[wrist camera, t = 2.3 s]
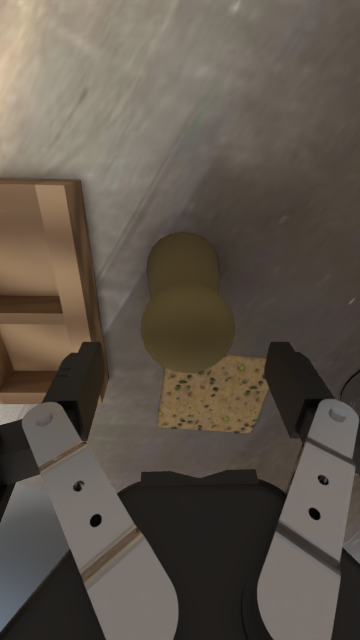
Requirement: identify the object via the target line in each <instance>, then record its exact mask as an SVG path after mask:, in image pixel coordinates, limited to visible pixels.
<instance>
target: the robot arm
mask: <svg viewBox="0 0 360 640" xmlns="http://www.w3.org/2000/svg"><path fill="white" fill-rule="evenodd" d="M264 375H265V379H266V382H267V384H268V386H269V389H270V391H271V393H272V396H273V398H274V401H275V403H276V405H277V408H278V410H279V412H280V415H281V417H282V420H283V422H284V424H285V427H286V429H287V431H288V434H289V436H290V438H301V441H302V443H303V444H302V446H301V449H300V451H299V454H298V457H297V460H296V462H295V465H294V468H293V471H292V473H291V476H290V479H289V482H288V484H287V487H286V489H285V492H284V491H282V490H281V489H279V488H278V487H276V486H274V485H272V484H270V483H268V482H266V481H263V480H260V479H258V478H257V474H256V471H255V469H251V470H226V471H223V472H220V473H216V474H213V475H210V476H206V477H203V478H195V477H191V476H187V475H183V474H179V473H175V472H171V471H163V472H142V473H141V481H140V482H137V483H134V484H132V485H130V486H128V487H126V488H124V489H123V490H121V491H120V492H119V493H117V494H116V492H115V490H114V488H113V487H112V485H111V483H110V482H109V480H108V478H107V477H106V475H105V473H104V471H103V470H102V468H101V466H100V465H99V463H98V461H97V460H96V458H95V456H94V455H93V453H92V451H91V449H90V448H89V446H88V445H87V443H86V442H82V441H87V440H88V436H89V432H90V429H91V425H92V421H93V418H94V414H95V411H96V407H97V403H98V400H99V396H100V392H101V389H102V385H103V381H104V376H105V367H104V360H103V354H102V347H101V343H100V342H83V343H82V344H81V347H80V349H79V351H78V353H70V354H69V355H68V356H67V357H66V358H64V359H63V360H62V363H61V365H60V367H59V370H58V371H57V373H56V375H55V377H54V379H53V381H52V383H51V385H50V387H49V389H48V391H47V393H46V395H45V397H44V399H43V401H42V403H41V404H39V405H37V406H35V407H33V408H32V409H30V410H29V411H28V412H27V413H26V414H25V416H24V418H23V419H21V420H18V421H14V422H11V423H7V424H3V425H0V522H1V519H2V517H3V514H4V511H5V509H6V506H7V504H8V501H9V498H10V496H11V494H12V491H13V488H14V486H15V484H16V482H18V481H21V480H24V479H27V478H30V477H33V476H36V475H39V474H41V476H42V479H43V481H44V484H45V486H46V489H47V491H48V494H49V496H50V498H51V501H52V504H53V506H54V508H55V511H56V514H57V516H58V519H59V521H60V524H61V526H62V529H63V531H64V534H65V536H66V539H67V542H68V544H69V547H70V549H69V550H68V551H67V552H66V554H65V555H64V556H63V557H62V558H61V560H60V561H59V562H58V563H57V564H56V566H55V567H54V568H53V569H52V570H51V572H50V573H49V574H48V575H47V576H46V578H45V579H44V580H43V581H42V583H41V584H40V585H39V586H38V587H37V589H36V590H35V591H34V592H33V593H32V595H31V596H30V597H29V598H28V599H27V601H26V602H25V603H24V604H23V605H22V607H21V608H20V609H19V611H18V612H17V613H16V614H15V615H14V617H13V618H12V619H11V620H10V621H9V622H8V624H7V625H6V626H5V627H4V628H3V630H2V631H1V632H0V640H360V564H359V563H358V562H357V561H356V560H355V559H354V558H353V557H352V556H351V555H350V554H349V553H348V552H347V551H346V550H345V549H344V548H343V547H342V546H343V540H344V534H345V528H346V522H347V515H348V509H349V503H350V497H351V491H352V485H353V479H354V473H359V475H360V372H359V373H358V374H357V375H356V376H354V377H353V378H352V379H351V380H350V381H349V382H348V384H347V385H346V386H345V388H344V390H343V392H342V395H341V401H339V400H335V398H334V397H333V395H332V394H331V392H330V391H329V389H328V388H327V386H326V385H325V383H324V382H323V380H322V379H321V377H320V376H319V375H318V373H317V371H316V370H315V369H314V367H313V365H312V364H311V362H310V361H309V359H308V358H306V357H305V356H304V355H302V354H301V353H300V352H295V351H294V349H293V348H292V346H291V345H290V343H289V342H271V343H270V346H269V350H268V354H267V358H266V362H265V367H264Z"/></svg>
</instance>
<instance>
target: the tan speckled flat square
mask: <svg viewBox="0 0 360 640" xmlns="http://www.w3.org/2000/svg"><path fill="white" fill-rule="evenodd" d="M265 362H266V358H256V357H248V356H233V355H225V356H224V357H223V358H222V360H220V361H219V362H218V363H216V364H215V365H214V366H212V367H211V368H208V369H206V370H203V371H201V372H194V373H181V372H175V371H172V370H169V369H166V368H165V371H164V380H163V386H162V394H161V399H160V408H159V411H158V415H159V416H158V421H157V425H158V426H159V427H165V428H167V427H168V428H171V429H178V428H180V429H196V430H215V431H226V432H233V433H250V432H251V431H252V428H254V427H255V422H256V421H257V417H258V415H259V413H260V410H261V407H262V404H263V401H264V398H265V395H266V393H267V391H268V389H269V386H268V384H267V382H266V379H265V375H264V367H265Z"/></svg>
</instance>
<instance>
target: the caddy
mask: <svg viewBox="0 0 360 640" xmlns="http://www.w3.org/2000/svg"><path fill="white" fill-rule="evenodd" d="M83 342H100V343H101V347H102V354H103V360H104V367H105V376H104V381H103V385H102V389H101V392H100V396H99V400H98V403H97V404H102V401H103V398H104V394H105V391H106V387H107V384H108V380H109V376H108V369H107V362H106V355H105V348H104V341H103V334H102V327H101V320H100V313H99V306H98V299H97V292H96V285H95V278H94V272H93V265H92V258H91V251H90V244H89V237H88V230H87V223H86V216H85V209H84V202H83V195H82V188H81V181H80V180H53V179H15V178H0V404H41V403H42V401H43V399H44V397H45V395H46V393H47V391H48V389H49V387H50V385H51V383H52V381H53V379H54V377H55V375H56V373H57V371H58V370H59V367H60V365H61V363H62V360H63V359H64V358H66V357H67V356H68V355H69V354H70V353H78V351H79V349H80V347H81V344H82V343H83Z"/></svg>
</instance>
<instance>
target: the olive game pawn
mask: <svg viewBox="0 0 360 640" xmlns="http://www.w3.org/2000/svg"><path fill="white" fill-rule="evenodd" d="M147 274H148V282H149V289H150V296H151V300H150V301H149V302H148V304H147V306H146V309H145V311H144V313H143V316H142V322H141V335H142V339H143V342H144V345H145V349H146V350H147V352H148V353H149V354H150V356H151V357H152V358H153V359H154V360H155V361H156V362H157V363H159V364H160V365H162V366H163V367H165V368H166V369H169V370H172V371H175V372H181V373H194V372H201V371H203V370H206V369H208V368H211V367H212V366H214V365H215V364H216V363H218V362H219V361H220V360H222V358H223V357H224V356H225V354H226V353H227V352H228V350H229V349H230V347H231V345H232V342H233V338H234V334H235V325H234V316H233V314H232V311H231V309H230V307H229V305H228V303H227V301H226V300H225V299H224V298H223V297H222V296H221V295H220V294H219V273H218V260H217V255H216V253H215V251H214V249H213V247H212V246H211V245H210V244H209V243H208V242H207V241H206V240H205V239H204V238H202V237H200V236H198V235H196V234H193V233H186V232H179V233H174V234H170V235H168V236H166V237H164V238H162V239H161V240H159V241H158V243H157V244H156V245H155V246H154V247H153V248H152V250H151V252H150V254H149V257H148V261H147Z"/></svg>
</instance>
